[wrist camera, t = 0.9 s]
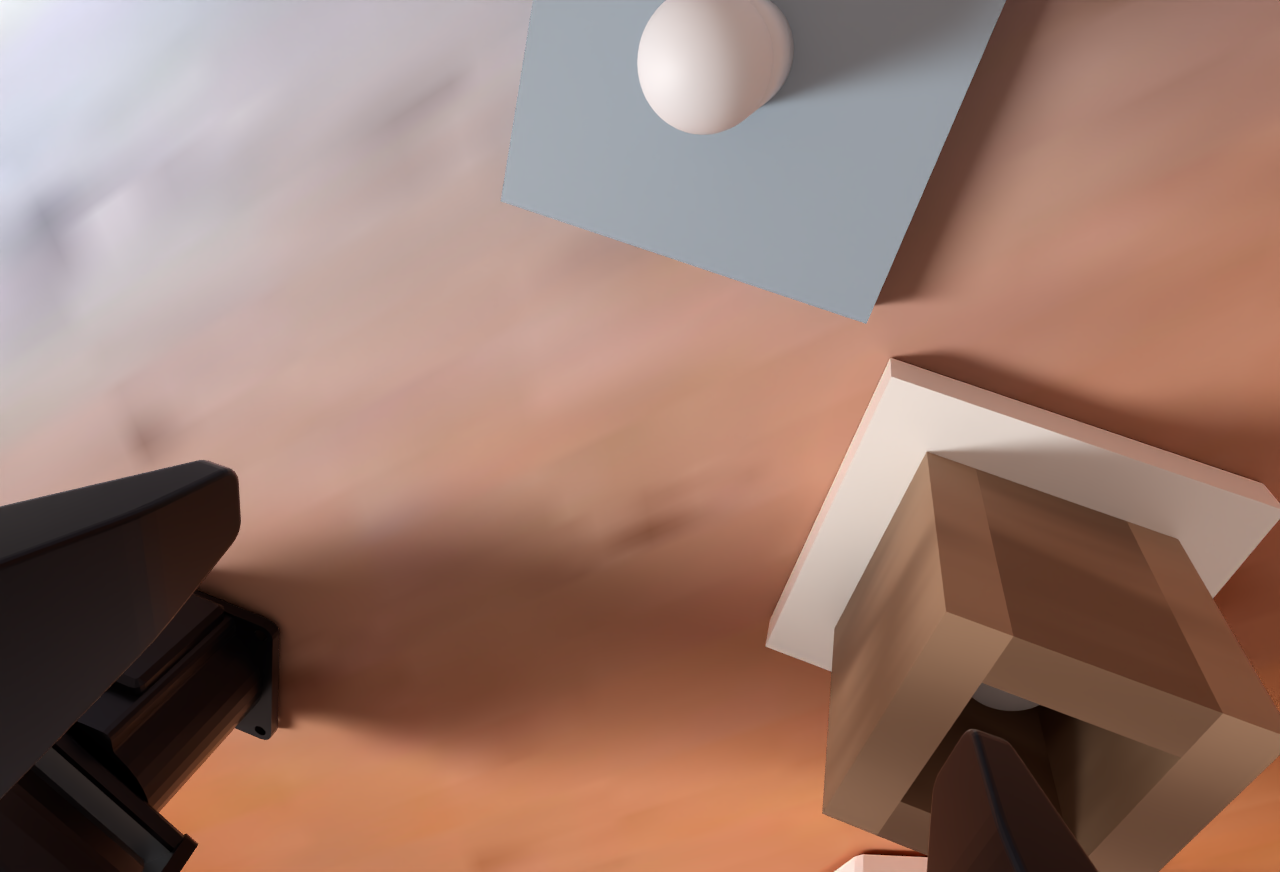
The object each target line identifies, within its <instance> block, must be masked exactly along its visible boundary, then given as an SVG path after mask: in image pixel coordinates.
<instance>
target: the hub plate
mask: <svg viewBox="0 0 1280 872" xmlns="http://www.w3.org/2000/svg"><path fill="white" fill-rule="evenodd" d="M1005 1H1006V0H533V4H532V10H531V16H530V22H529V28H528V35H527V41H526V47H525V53H524V60H523V66H522V72H521V78H520V85H519V91H518V97H517V103H516V110H515V116H514V122H513V128H512V134H511V141H510V147H509V153H508V159H507V166H506V172H505V178H504V184H503V191H502V197H501V202H504V203H507V204H510V205H513V206H516V207H519V208H522V209H525V210H528V211H531V212H534V213H537V214H540V215H543V216H546V217H549V218H552V219H555V220H558V221H561V222H564V223H567V224H570V225H573V226H576V227H579V228H582V229H585V230H588V231H591V232H594V233H597V234H600V235H603V236H606V237H609V238H612V239H615V240H618V241H621V242H624V243H627V244H630V245H633V246H636V247H639V248H642V249H645V250H648V251H651V252H654V253H657V254H660V255H663V256H666V257H669V258H672V259H675V260H678V261H680V262H683V263H686V264H689V265H692V266H695V267H698V268H701V269H704V270H707V271H710V272H713V273H716V274H719V275H722V276H725V277H728V278H731V279H734V280H737V281H740V282H743V283H746V284H749V285H752V286H755V287H758V288H761V289H764V290H767V291H770V292H773V293H776V294H779V295H782V296H785V297H788V298H791V299H794V300H797V301H800V302H803V303H806V304H809V305H812V306H815V307H818V308H821V309H824V310H827V311H830V312H833V313H836V314H839V315H842V316H845V317H848V318H851V319H854V320H857V321H860V322H863V323H867V321H868V319H869V316H870V314H871V312H872V310H873V307H874V305H875V303H876V300H877V298H878V296H879V293H880V291H881V289H882V286H883V284H884V282H885V279H886V277H887V275H888V272H889V270H890V268H891V266H892V263H893V261H894V259H895V256H896V254H897V252H898V249H899V247H900V245H901V242H902V240H903V238H904V235H905V233H906V231H907V228H908V226H909V224H910V222H911V219H912V217H913V215H914V212H915V210H916V208H917V205H918V203H919V201H920V198H921V196H922V194H923V191H924V189H925V187H926V184H927V182H928V180H929V178H930V175H931V173H932V171H933V168H934V166H935V164H936V161H937V159H938V157H939V154H940V152H941V150H942V147H943V145H944V143H945V140H946V138H947V136H948V133H949V131H950V129H951V127H952V124H953V122H954V120H955V117H956V115H957V113H958V110H959V108H960V106H961V103H962V101H963V99H964V96H965V94H966V92H967V89H968V87H969V85H970V83H971V80H972V78H973V76H974V73H975V71H976V69H977V66H978V64H979V62H980V59H981V57H982V55H983V52H984V50H985V48H986V45H987V43H988V41H989V39H990V36H991V34H992V32H993V29H994V27H995V25H996V22H997V20H998V18H999V15H1000V13H1001V11H1002V8H1003V6H1004V4H1005Z"/></svg>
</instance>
